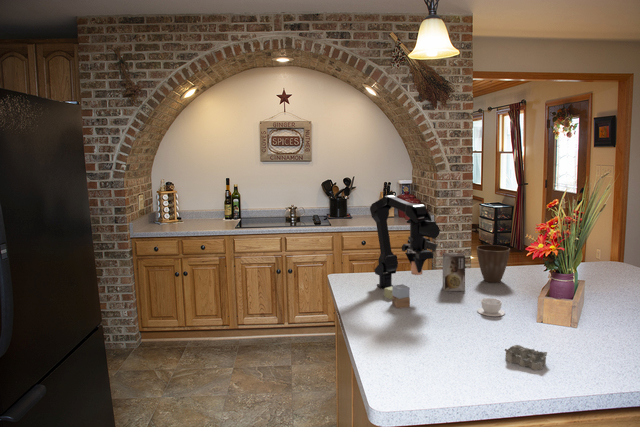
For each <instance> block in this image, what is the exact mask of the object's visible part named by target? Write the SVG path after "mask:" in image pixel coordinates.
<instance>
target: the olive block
mask: <svg viewBox="0 0 640 427" xmlns="http://www.w3.org/2000/svg"><path fill="white" fill-rule="evenodd" d="M383 291H384V293H383V294H384V296H383V297H384V298H386V299H388V300H392V287H387V288H384V290H383Z"/></svg>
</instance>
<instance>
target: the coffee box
mask: <svg viewBox="0 0 640 427" xmlns="http://www.w3.org/2000/svg"><path fill="white" fill-rule="evenodd" d="M442 289H443V291H444V292H465V291H466V255H465V254H464V253H463V252H443V253H442Z"/></svg>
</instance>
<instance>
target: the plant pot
mask: <svg viewBox="0 0 640 427" xmlns="http://www.w3.org/2000/svg"><path fill="white" fill-rule="evenodd" d="M510 252H511V248H510V247H508V246H504V245H497V244H496V245H495V244H483V245H482V244H481V245H477V246H476V255H477V261H478V265H479V268H480V272H481V275H482V278H483V281H485V282H486V283H493V284H494V283H495V284H496V283H500V282H502V279H503V276H504V275H505V271H506V269H507V266H508V262H509V258H510Z"/></svg>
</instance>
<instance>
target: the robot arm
mask: <svg viewBox="0 0 640 427" xmlns="http://www.w3.org/2000/svg"><path fill="white" fill-rule="evenodd" d="M392 208H394V209H396V210H399V211H401V212H403V213H404V214H405V216H406V217H407V218H409V219H408V220H407V221H406V224H409V236H407V238H408V240H409V243H403V244H402V245H401V251H402V252H405V253H404V254H405V255H406V257H407V260H408V262H409V264H410V265H411V262H412V261H415V265H416V268H417V271H418V273H420V272H421V270H422V271H423V266H424V263H425V262H426V260H432V259H434V252H436V250H437V247H438V243H434V242H432V241H431V239H436V238H438V236H440V232H441V230H440V227H439V225H438V224H437V221H436V220H433V219H432V218H431V216H430V214H429V212H428V209H427V208H426V206H425V204H420V203H412V202H409V201H406V200H404V199H402V198H399V197H397V196H395V195H393V194H390V195H389V194H388V195H387V194H386V195H384V196H383V197H381V198H380V199H379V200H376V201H374V202H373V203H372V204H371V205H370V207H369V212H370V215H371V218H372V219H373V220H374V222H375V223H376V231H377V237H378V238H377V239H378V243H379V249H380V250H379V251H380V255H379V257H378V258H377V259H378V264H377V265H376V267H375V268H374V273H375V275H377V276H378V278H379V279H378V281H379V282H378V283H377V284H376V286H377V287H378V288H379V289H381V290H382V289H384V288H387V287H392V286H394V285H393V284H392V283H393V279H392V277H393V276H392V275H394V274H396V272H397V270H398V267H399V261H398V256H397V254H394V252H392V246H391V239H390V233H389V227H388V218H389V217H390V210H391V209H392Z"/></svg>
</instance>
